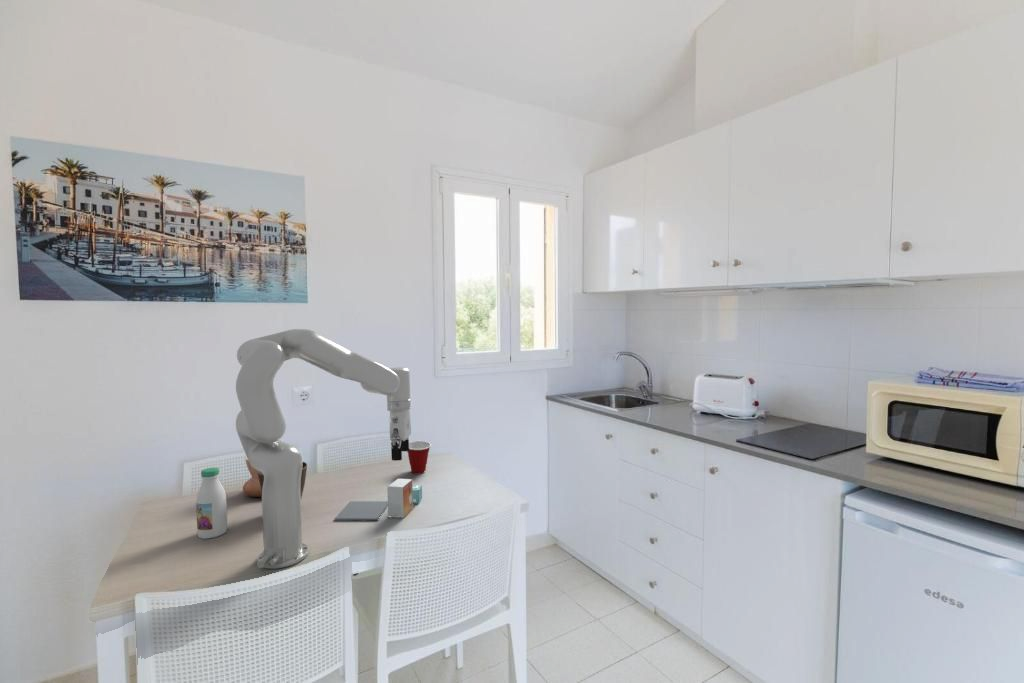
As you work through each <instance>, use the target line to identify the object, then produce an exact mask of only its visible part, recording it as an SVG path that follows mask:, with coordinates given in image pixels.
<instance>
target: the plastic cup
mask: <svg viewBox="0 0 1024 683" xmlns="http://www.w3.org/2000/svg"><path fill="white" fill-rule="evenodd" d="M431 447H432V444H431V442H429V441H425V440H424V441H423V440H415V441H414V440H412V441H409V451H406V452H407V456H408V457H407V458H408V460H409V465H410V466H409V467H410V471H411V473H412V472H413V473H412V474H414V473H420V474H423V473H422V472H424V471H425V472H426V470H427V463H428V457H429V451H430V448H431ZM425 472H424V473H425Z"/></svg>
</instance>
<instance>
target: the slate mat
mask: <svg viewBox="0 0 1024 683" xmlns="http://www.w3.org/2000/svg"><path fill="white" fill-rule="evenodd" d="M387 506H388V500H387V501H386V500H385V501H381V500H380V501H379V500H378V501H376V500H375V501H371V500H370V501H360V500H358V501H354V500H352V501H349V502H348V503H347V504H346V505H345V506H344V508H342V510H341V511H340V512H339V513H338V514H337V515H336V516H335V518H334V521H335V522H350V521H349V520H378V519H379V520H380V518H381V517H382V515H383V514H384V512H385V511H386V510H385V509H387V508H388V507H387ZM386 507H387V508H386ZM384 510H385V511H384ZM383 511H384V512H383ZM382 513H383V514H382ZM381 514H382V515H381ZM380 516H381V517H380ZM379 517H380V518H379ZM379 520H378V521H379Z"/></svg>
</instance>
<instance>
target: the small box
mask: <svg viewBox="0 0 1024 683" xmlns="http://www.w3.org/2000/svg"><path fill="white" fill-rule="evenodd" d="M412 485H413V479H409V478H396V479H395V481H393V482H391V483H390V484H389V485H387V487H386V488H387V501H388V507H387V517H388V516H391V517H390V518H392V517H402V518H401V519H404V518H405V517H406V516H407V515H408V514H410V513H411V511H412V510H413V509H414V508H413V507H414V506H413V505H414V504H413V494H412ZM403 517H404V518H403Z"/></svg>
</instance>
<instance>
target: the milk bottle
mask: <svg viewBox="0 0 1024 683" xmlns="http://www.w3.org/2000/svg"><path fill="white" fill-rule="evenodd" d="M200 476H201V479H202V480H201V485H200V487H199V490H198V491H197V495H196V505H195V506H196V529H197V530H196V531H197V536H198V538H199V539H205V540H207V539H212V538H217V537H221V536H222V535H224V534H225V533H226V532H227V531H228V508H227V495H226V491H225V490H226V489H225V487H224V486H223V485H222V483H221V481H220V479H219V476H220V469H219V467H208V468H207V467H206V468H204V469H202V470H201V473H200Z"/></svg>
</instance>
